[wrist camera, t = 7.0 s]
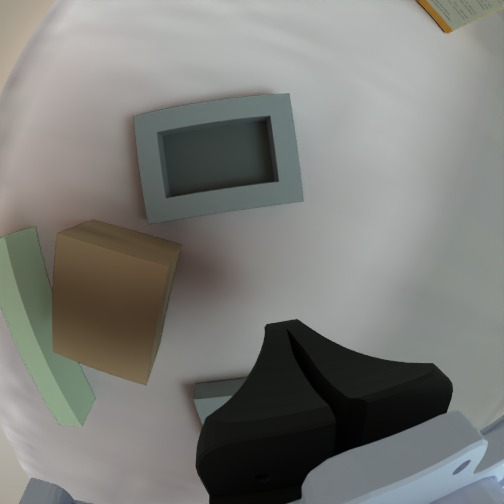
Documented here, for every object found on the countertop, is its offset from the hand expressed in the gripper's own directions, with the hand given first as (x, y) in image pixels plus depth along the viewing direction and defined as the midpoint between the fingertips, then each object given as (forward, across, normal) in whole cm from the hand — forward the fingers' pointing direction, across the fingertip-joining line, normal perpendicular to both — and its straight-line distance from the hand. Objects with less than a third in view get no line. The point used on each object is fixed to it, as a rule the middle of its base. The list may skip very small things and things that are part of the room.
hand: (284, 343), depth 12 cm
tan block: (+4, +8, -2) cm, 9 cm away
